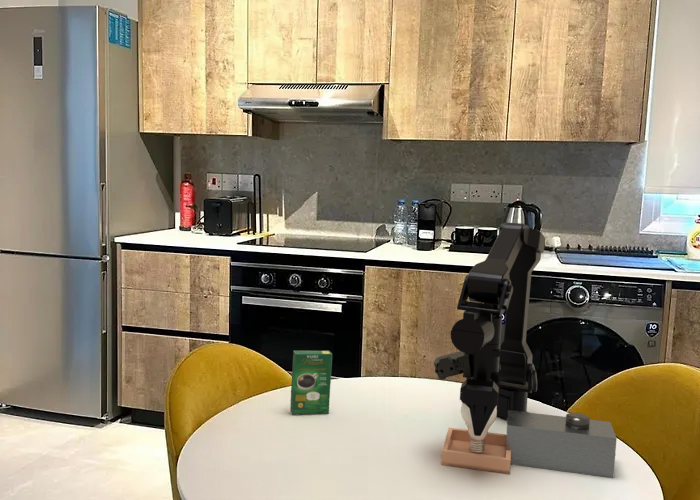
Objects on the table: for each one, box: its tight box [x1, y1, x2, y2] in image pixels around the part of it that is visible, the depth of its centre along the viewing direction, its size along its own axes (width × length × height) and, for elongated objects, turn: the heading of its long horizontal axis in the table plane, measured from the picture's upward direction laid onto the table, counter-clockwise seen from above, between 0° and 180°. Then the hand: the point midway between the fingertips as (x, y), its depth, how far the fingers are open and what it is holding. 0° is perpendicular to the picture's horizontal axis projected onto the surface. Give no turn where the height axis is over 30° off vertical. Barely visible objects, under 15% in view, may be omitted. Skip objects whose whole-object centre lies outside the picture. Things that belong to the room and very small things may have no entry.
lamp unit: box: [505, 410, 618, 479], centre depth 120 cm, size 18×8×9 cm, turn 76°
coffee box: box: [289, 350, 333, 416], centre depth 139 cm, size 8×3×13 cm, turn 103°
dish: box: [440, 426, 511, 475], centre depth 121 cm, size 12×12×2 cm
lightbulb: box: [460, 402, 498, 454], centre depth 121 cm, size 6×6×11 cm
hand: (478, 426), depth 121 cm, fingers open, 9 cm apart
